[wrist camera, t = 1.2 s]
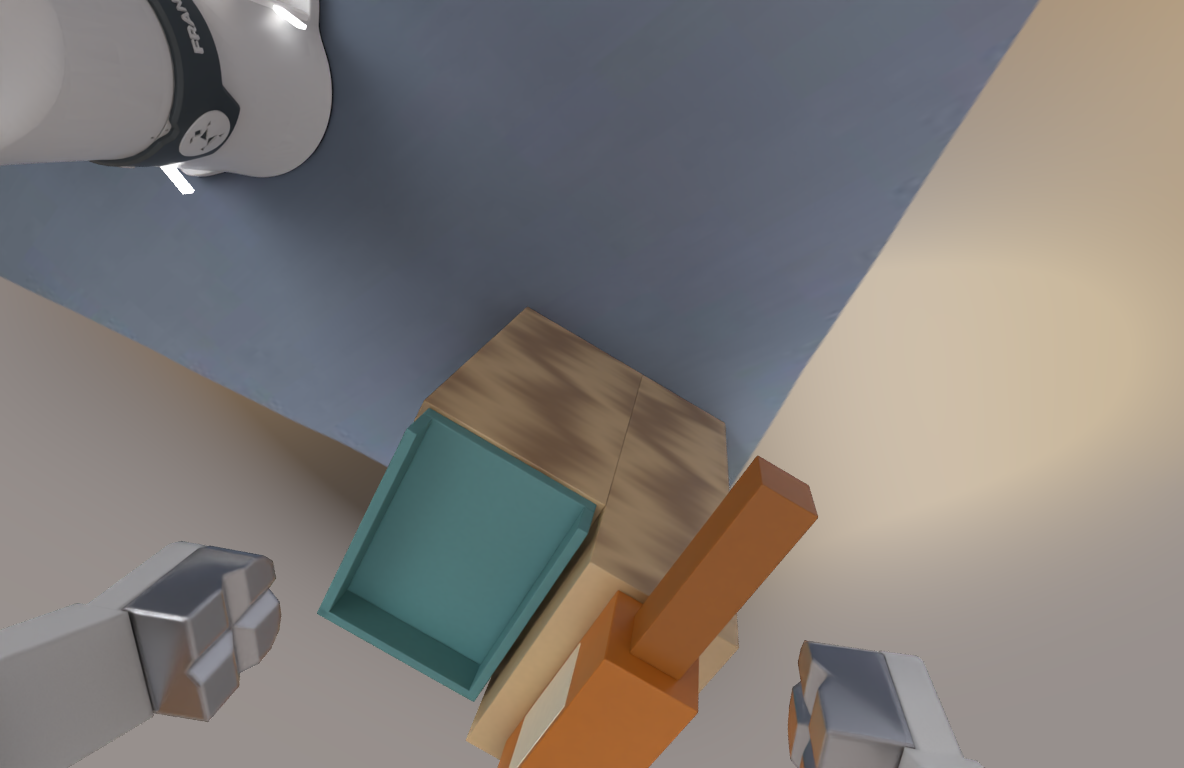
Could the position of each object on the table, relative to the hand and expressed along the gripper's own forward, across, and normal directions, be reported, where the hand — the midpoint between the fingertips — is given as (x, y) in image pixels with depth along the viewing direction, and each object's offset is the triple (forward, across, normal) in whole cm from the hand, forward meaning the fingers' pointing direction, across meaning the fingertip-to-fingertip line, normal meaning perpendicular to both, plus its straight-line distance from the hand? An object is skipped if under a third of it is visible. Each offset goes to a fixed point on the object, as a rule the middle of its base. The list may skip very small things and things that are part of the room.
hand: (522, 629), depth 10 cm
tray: (+22, +9, +15) cm, 28 cm away
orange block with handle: (+17, -1, +15) cm, 22 cm away
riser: (+43, +6, +17) cm, 47 cm away
